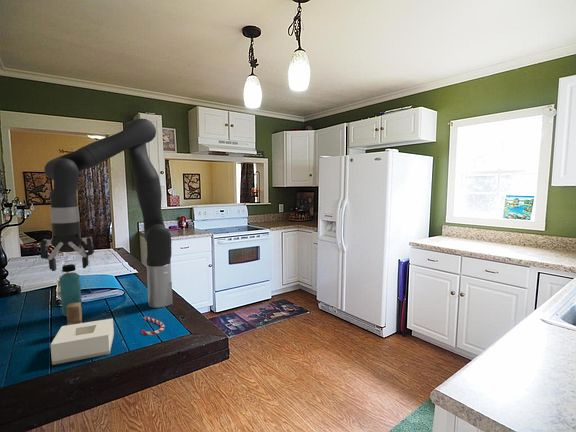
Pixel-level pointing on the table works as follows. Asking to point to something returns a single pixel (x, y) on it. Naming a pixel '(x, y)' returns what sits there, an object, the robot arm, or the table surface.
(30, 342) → the table surface
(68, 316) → the peg
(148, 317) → the candy cane
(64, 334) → the socket block
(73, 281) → the beverage bottle
